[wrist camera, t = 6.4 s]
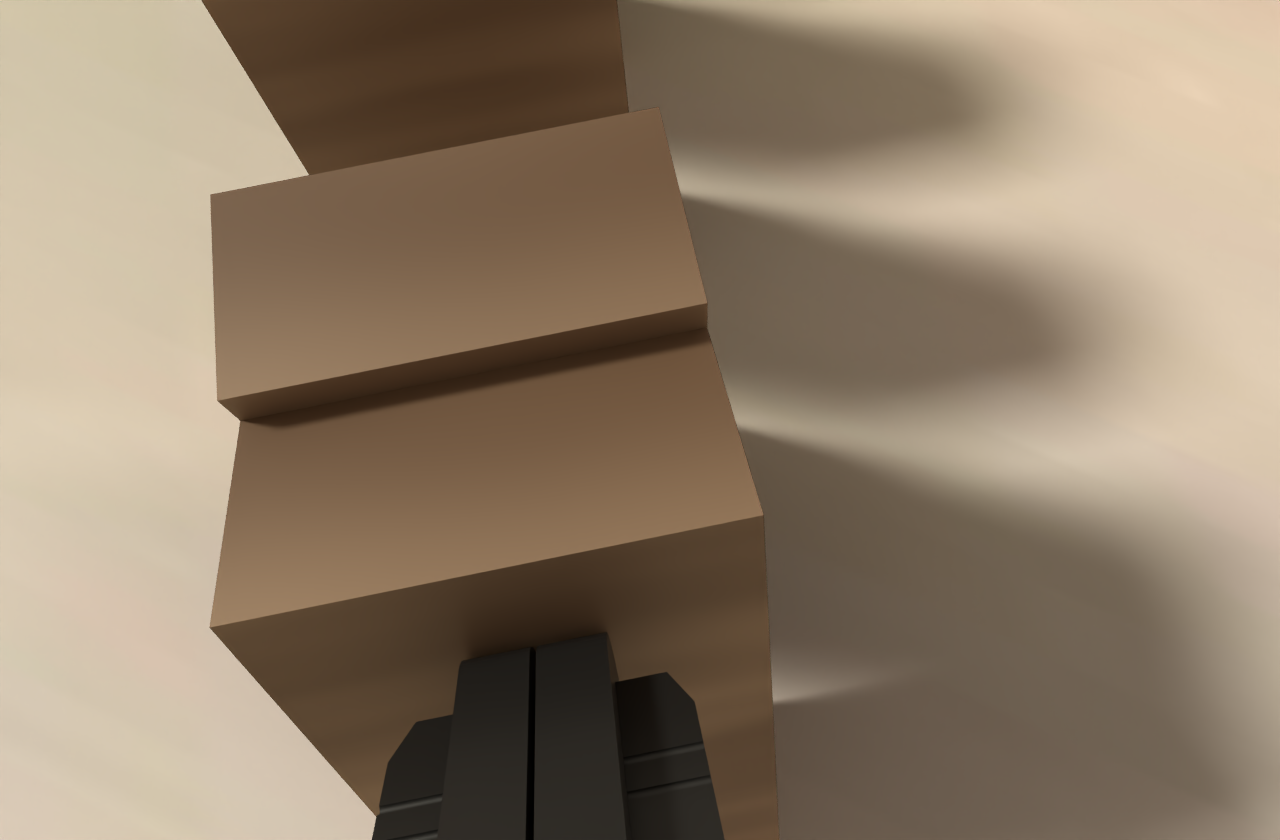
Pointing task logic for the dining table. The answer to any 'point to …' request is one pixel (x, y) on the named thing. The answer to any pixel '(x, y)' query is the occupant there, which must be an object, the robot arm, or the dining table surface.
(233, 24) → the domino
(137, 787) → the dining table surface
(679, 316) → the domino
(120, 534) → the dining table surface
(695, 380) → the domino
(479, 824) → the robot arm
